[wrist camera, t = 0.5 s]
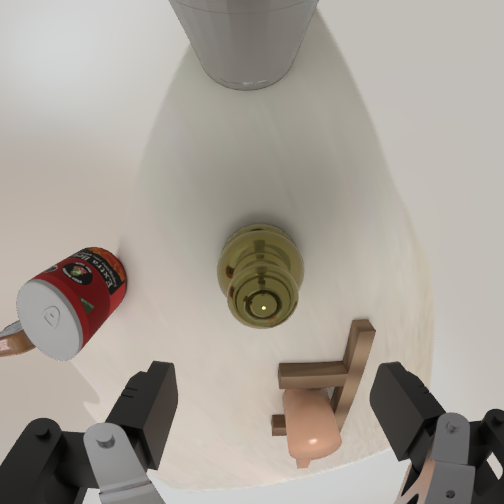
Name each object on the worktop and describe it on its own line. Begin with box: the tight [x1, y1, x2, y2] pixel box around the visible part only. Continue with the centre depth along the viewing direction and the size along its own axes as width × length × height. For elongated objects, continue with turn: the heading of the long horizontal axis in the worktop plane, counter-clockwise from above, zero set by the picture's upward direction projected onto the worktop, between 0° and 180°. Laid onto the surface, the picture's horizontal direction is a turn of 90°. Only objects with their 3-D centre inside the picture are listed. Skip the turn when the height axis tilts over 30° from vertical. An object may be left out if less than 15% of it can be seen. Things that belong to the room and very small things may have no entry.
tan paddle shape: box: [282, 387, 342, 469], centre depth 29 cm, size 11×6×9 cm, turn 178°
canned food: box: [16, 247, 126, 361], centre depth 23 cm, size 8×8×11 cm
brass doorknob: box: [217, 223, 304, 329], centre depth 23 cm, size 7×7×10 cm
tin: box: [0, 320, 36, 357], centre depth 26 cm, size 15×3×8 cm, turn 108°
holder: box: [271, 320, 376, 436], centre depth 32 cm, size 24×10×2 cm, turn 178°
